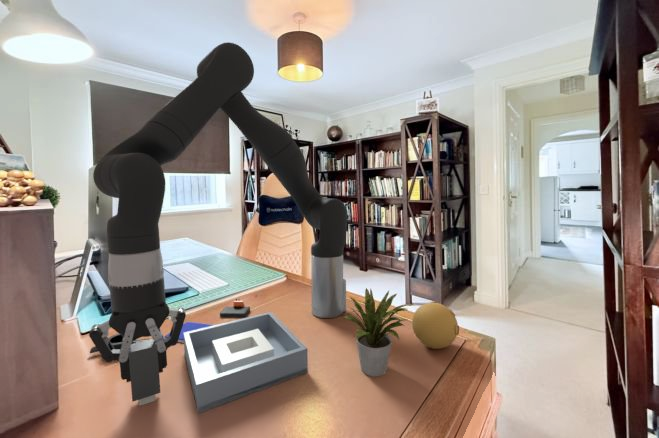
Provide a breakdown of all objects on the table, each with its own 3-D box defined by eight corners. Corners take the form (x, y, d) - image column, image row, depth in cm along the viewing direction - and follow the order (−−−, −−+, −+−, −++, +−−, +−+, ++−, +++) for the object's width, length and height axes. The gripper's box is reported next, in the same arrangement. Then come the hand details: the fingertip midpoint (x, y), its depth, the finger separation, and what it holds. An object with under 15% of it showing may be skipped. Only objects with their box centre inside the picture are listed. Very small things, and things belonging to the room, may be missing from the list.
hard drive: (164, 335, 71) (209, 342, 68) (188, 320, 78) (229, 326, 76) (164, 342, 71) (209, 348, 68) (188, 326, 79) (229, 331, 76)
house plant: (395, 409, 48) (397, 314, 46) (324, 380, 55) (324, 297, 54) (418, 364, 60) (421, 288, 58) (358, 346, 68) (358, 277, 66)
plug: (160, 390, 53) (156, 338, 52) (161, 400, 50) (157, 345, 49) (133, 399, 51) (129, 344, 50) (133, 410, 48) (128, 353, 47)
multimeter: (232, 294, 101) (231, 285, 101) (265, 296, 100) (265, 286, 100) (204, 318, 84) (203, 306, 83) (244, 320, 82) (243, 308, 82)
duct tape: (117, 339, 71) (116, 328, 71) (153, 343, 70) (152, 331, 69) (86, 358, 64) (84, 345, 63) (126, 362, 62) (125, 349, 62)
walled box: (271, 330, 75) (270, 311, 74) (307, 372, 58) (307, 348, 57) (184, 354, 64) (183, 332, 64) (198, 413, 48) (196, 384, 47)
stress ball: (424, 362, 63) (465, 341, 59) (398, 320, 66) (435, 298, 62) (434, 348, 71) (470, 329, 67) (410, 311, 75) (443, 291, 71)
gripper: (183, 265, 55) (188, 352, 57) (86, 278, 48) (95, 377, 50) (187, 275, 49) (193, 372, 51) (76, 292, 41) (88, 404, 43)
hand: (145, 374), depth 50 cm, fingers closed on plug, 4 cm apart
